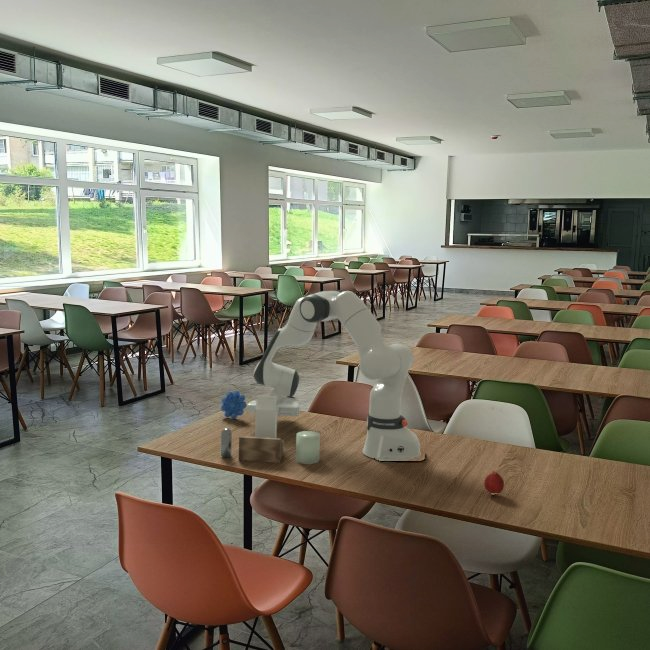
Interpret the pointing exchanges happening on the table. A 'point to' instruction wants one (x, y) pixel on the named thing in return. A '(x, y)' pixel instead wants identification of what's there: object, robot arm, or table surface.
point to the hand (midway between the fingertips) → (270, 413)
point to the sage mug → (307, 447)
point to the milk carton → (266, 417)
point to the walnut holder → (260, 449)
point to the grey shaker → (226, 443)
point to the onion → (494, 483)
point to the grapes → (233, 404)
